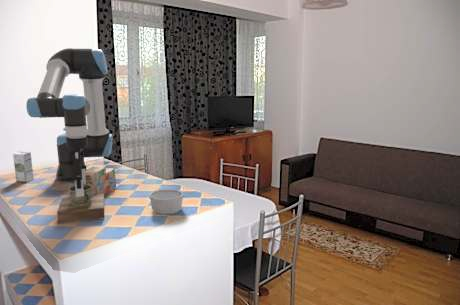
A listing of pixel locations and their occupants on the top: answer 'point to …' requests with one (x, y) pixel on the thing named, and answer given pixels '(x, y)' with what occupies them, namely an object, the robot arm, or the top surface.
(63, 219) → the walnut block
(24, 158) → the syrup box
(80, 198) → the vessel
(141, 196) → the top surface
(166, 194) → the ramekin
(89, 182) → the stack of blocks
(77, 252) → the top surface
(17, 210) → the top surface
